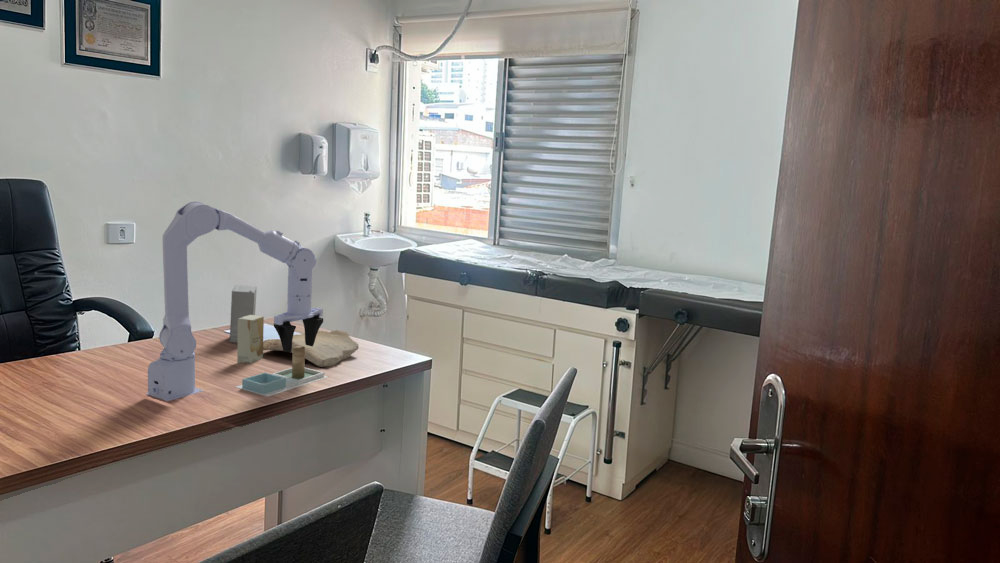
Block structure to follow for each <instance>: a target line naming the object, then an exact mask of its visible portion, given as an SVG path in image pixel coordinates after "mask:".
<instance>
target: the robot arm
mask: <svg viewBox="0 0 1000 563" xmlns="http://www.w3.org/2000/svg"><path fill="white" fill-rule="evenodd" d="M214 230H217V231H227V230H228V231H231V232H233V233H235V234H237V235H239V236H241V237H243V238H245V239H247V240H249V241H252V242H254V243H256V244H257V245H258V248H259V251H260V252H261V253H263V254H265V255H267V256H269V257H270V258H273V259H275V260H277V261H279V262H281V263H284V264H286V265H287V266H288V268H287V270H288V273H287V274H288V275H287V302H286V303H287V305H286V306H287V307H286V308H287V309H286V311H285V312H283V313H280V314H278V315H273V327H274V328H275V331H276V333H277V334H278V337H279V339H280V340H281V344H282V348H283V351H282V352H285V351H286V352H285V353H291V350H292V340H293V335H295V334H294V333H295V331H296V329H297V328H296V327H297V326H296V325H293V324H292V322H297V321H302V323H303V327H304V333H305V344H306V345H308V346H313V345H314V342H315V338H316V335H317V332H318V331H320V328H321V327H322V324H323V323H324V318H323V315H324V313H323V312H324V309H323V308H320V307H313V308H312V298H313V297H312V296H313V294H312V293H313V292H312V291H313V290H312V288H313V269H314V268H315V266H316V264H317V259H316V257H315V256H316V255H315V253H314V252H313V251H312V250H311V249H309V248H307V247H305V246H302V245H301V242H299V241H298V240H292V239H289V238H288V237H285V236H284V233H283V232H281V231H280V230H278V229H277V230H276V231H275V230H268V231H263V230H261V229H259V228H257V227H255V226H254V225H252V224H250V223H248V222H247V221H245V220H243V219H242V218H240V217H237V216H236V215H235V214H233V213H230V212H228V211H224V210H222V209H218V208H216V207H213V206H211V205H208V204H204V203H202V202H200V201H189V202H188V203H186V204H185V205H183V206H181V207H180V208H179V209H177V210H176V212H175V215H174V217H173V219H172V220H171V221H170V223H169V225H168V227H167V228H166V230H165V231H164V232H163V234H162V258H163V259H162V264H163V266H162V267H163V294H164V316H163V319H162V321H163V322H162V323H163V324H162V328H161V330H160V331H159V332H160V333H159V336H158V338H159V342H160V345H162V347H163V348H162V350H161V352H160V353H159V357H158V358H157V359H156V360H154V361H152V362H150V363H149V365H148V366H147V367H148V368H147V392H146V393H145V394H146V395H147V396H150V397H151V396H152V397H153V398H156V399H159V400H162V401H165V402H170V401H173V400H177V399H180V398H185V397H187V396H191V395H194V394H197V393H201V392H204V391H205V390H204V389H200V388H197V387H196V352H195V351H196V348H197V339H196V338H195V336H194V335H193V332H192V325H191V320H190V314H189V313H190V312H189V311H190V309H189V281H188V280H189V279H188V278H189V277H188V276H189V275H188V246H189V245H190V244H191V243H193V242H194V241H195V240H197V238H199V237H201V236H204V235H207V234H209V233H211V232H213V231H214Z"/></svg>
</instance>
